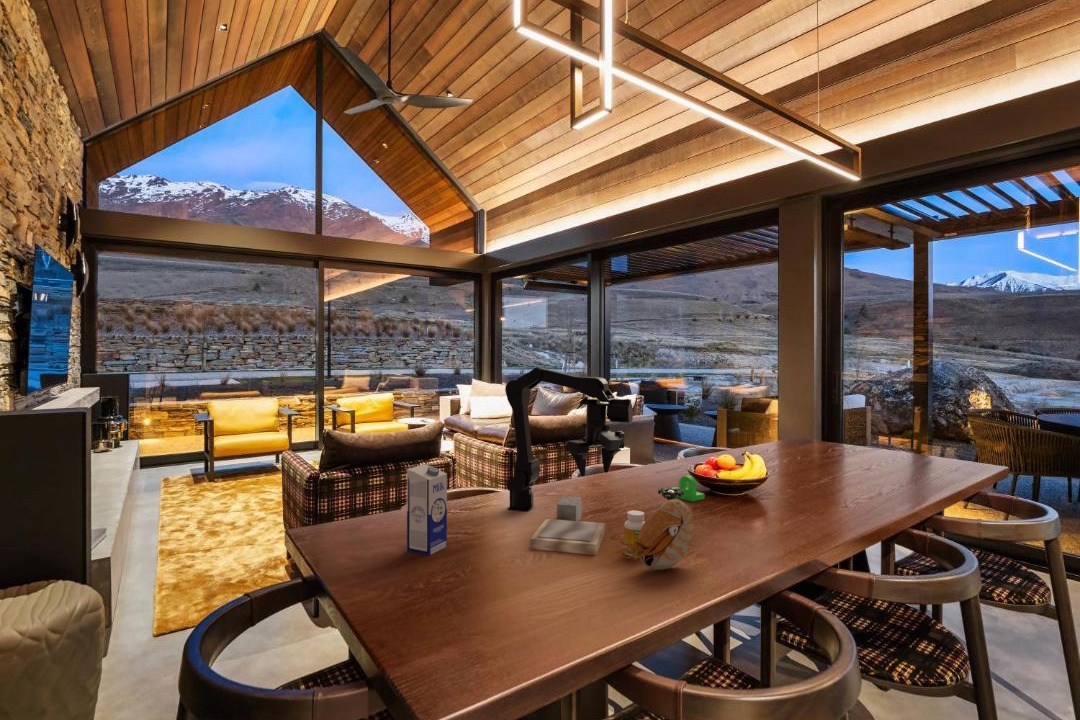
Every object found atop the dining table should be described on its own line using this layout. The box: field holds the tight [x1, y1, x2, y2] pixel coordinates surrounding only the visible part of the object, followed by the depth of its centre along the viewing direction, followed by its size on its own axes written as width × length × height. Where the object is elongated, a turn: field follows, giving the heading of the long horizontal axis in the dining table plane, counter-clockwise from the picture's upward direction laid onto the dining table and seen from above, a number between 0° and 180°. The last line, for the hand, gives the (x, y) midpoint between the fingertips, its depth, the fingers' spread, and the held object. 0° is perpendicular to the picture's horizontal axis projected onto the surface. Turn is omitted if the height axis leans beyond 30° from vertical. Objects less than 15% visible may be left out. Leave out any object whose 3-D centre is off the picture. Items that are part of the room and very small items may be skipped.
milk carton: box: [406, 463, 448, 556], centre depth 131 cm, size 7×7×20 cm
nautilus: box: [611, 498, 694, 571], centre depth 118 cm, size 8×22×15 cm, turn 119°
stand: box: [529, 518, 606, 556], centre depth 138 cm, size 16×17×3 cm
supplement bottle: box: [623, 510, 646, 557], centre depth 129 cm, size 5×5×10 cm
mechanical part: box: [665, 474, 706, 503], centre depth 182 cm, size 12×6×8 cm, turn 34°
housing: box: [556, 495, 583, 521], centre depth 154 cm, size 5×10×6 cm, turn 166°
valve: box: [657, 487, 684, 501], centre depth 141 cm, size 7×7×12 cm
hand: (594, 474), depth 158 cm, fingers open, 9 cm apart
